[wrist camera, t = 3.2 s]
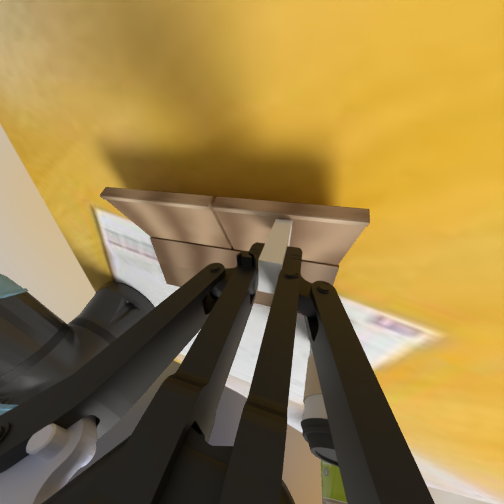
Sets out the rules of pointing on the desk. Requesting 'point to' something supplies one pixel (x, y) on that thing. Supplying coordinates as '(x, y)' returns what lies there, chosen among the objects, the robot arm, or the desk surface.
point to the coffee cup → (316, 417)
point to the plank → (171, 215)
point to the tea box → (332, 484)
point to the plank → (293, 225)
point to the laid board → (199, 256)
